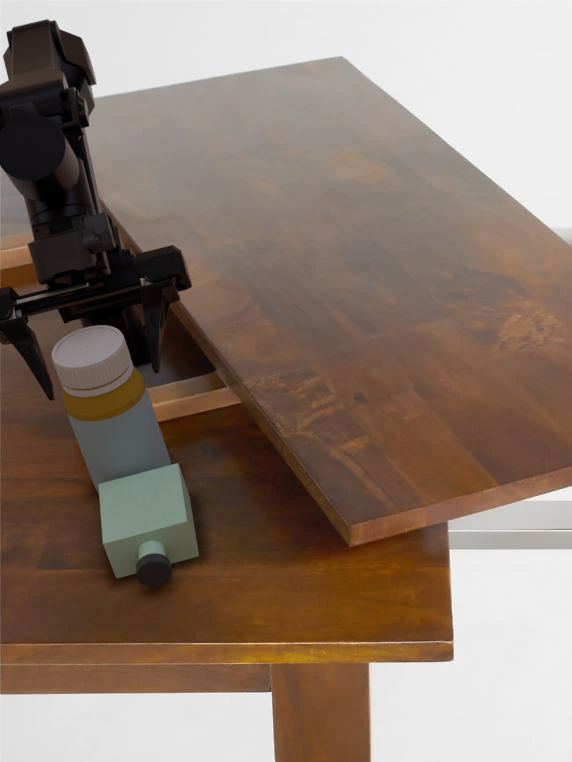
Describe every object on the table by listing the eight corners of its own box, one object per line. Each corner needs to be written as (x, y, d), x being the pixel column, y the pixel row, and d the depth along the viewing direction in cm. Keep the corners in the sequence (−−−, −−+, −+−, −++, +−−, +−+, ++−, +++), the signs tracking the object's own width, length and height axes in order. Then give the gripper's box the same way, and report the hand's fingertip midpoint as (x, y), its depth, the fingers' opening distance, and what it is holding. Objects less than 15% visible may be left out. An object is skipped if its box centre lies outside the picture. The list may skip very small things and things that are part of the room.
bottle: (159, 508, 120) (111, 370, 112) (85, 507, 122) (32, 371, 113) (184, 457, 126) (140, 321, 117) (113, 457, 128) (65, 322, 119)
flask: (111, 518, 120) (98, 483, 118) (189, 497, 121) (178, 462, 119) (118, 603, 112) (104, 568, 109) (203, 580, 112) (190, 544, 110)
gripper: (-69, 215, 113) (-27, 398, 111) (154, 160, 115) (200, 339, 112) (-33, 253, 124) (6, 419, 122) (170, 202, 126) (213, 365, 123)
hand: (104, 386), depth 119 cm, fingers open, 9 cm apart
